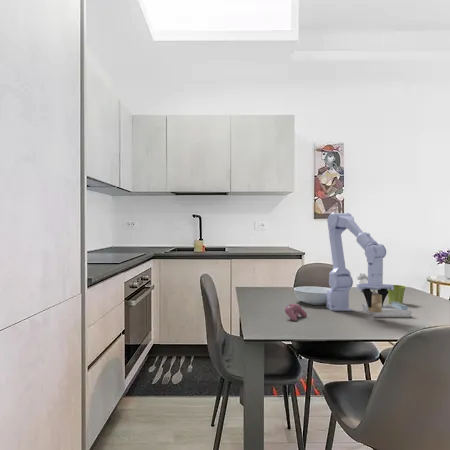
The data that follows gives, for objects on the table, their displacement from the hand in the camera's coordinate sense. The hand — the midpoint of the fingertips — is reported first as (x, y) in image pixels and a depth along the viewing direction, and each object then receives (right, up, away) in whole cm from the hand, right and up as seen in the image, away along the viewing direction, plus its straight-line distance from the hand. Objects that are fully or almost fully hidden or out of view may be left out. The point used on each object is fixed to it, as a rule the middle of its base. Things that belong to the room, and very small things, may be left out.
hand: (374, 307), depth 158 cm
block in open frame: (+9, -5, +10) cm, 14 cm away
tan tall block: (0, -2, 0) cm, 2 cm away
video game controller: (-32, -5, +1) cm, 33 cm away
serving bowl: (-17, -5, +33) cm, 37 cm away
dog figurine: (+21, -6, +66) cm, 70 cm away
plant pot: (+23, -6, +33) cm, 41 cm away
